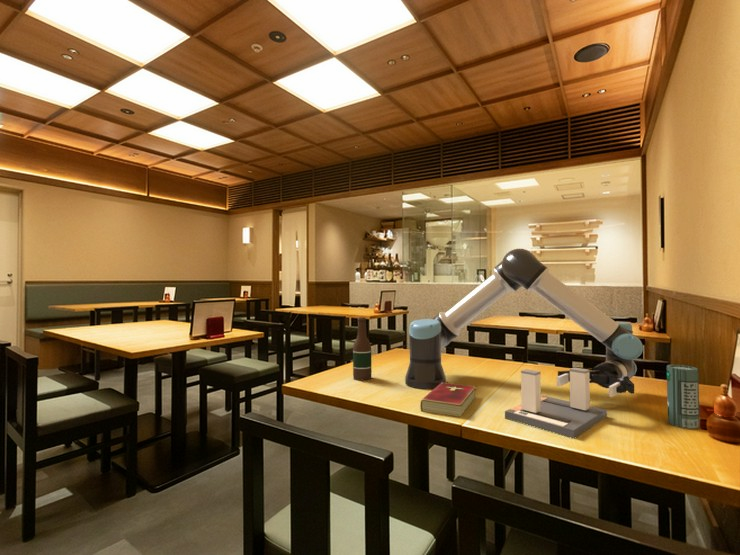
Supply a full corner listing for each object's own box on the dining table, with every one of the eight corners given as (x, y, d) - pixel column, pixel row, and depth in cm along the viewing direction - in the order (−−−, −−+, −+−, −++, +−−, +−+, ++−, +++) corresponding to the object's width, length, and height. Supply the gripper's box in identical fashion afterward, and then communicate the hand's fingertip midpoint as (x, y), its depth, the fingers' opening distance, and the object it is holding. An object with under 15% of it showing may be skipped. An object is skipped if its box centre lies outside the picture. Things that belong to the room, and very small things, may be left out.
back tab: (570, 406, 106) (569, 368, 106) (574, 404, 108) (574, 367, 108) (585, 410, 103) (585, 371, 103) (589, 408, 105) (589, 369, 105)
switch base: (504, 418, 104) (504, 370, 104) (542, 401, 118) (541, 359, 119) (573, 438, 90) (573, 383, 91) (606, 417, 105) (605, 369, 105)
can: (687, 420, 101) (686, 364, 102) (704, 429, 95) (703, 370, 96) (662, 420, 102) (661, 364, 102) (679, 428, 96) (677, 369, 96)
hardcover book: (420, 412, 111) (420, 398, 111) (440, 393, 129) (440, 381, 130) (461, 419, 105) (461, 403, 105) (476, 398, 124) (476, 385, 124)
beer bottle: (349, 377, 151) (349, 317, 152) (367, 375, 155) (366, 316, 155) (357, 381, 144) (356, 318, 145) (375, 379, 148) (374, 317, 148)
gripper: (658, 394, 110) (636, 411, 96) (568, 378, 129) (538, 390, 115) (657, 368, 110) (635, 381, 96) (567, 356, 129) (538, 365, 115)
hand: (582, 386), depth 105 cm, fingers open, 13 cm apart
